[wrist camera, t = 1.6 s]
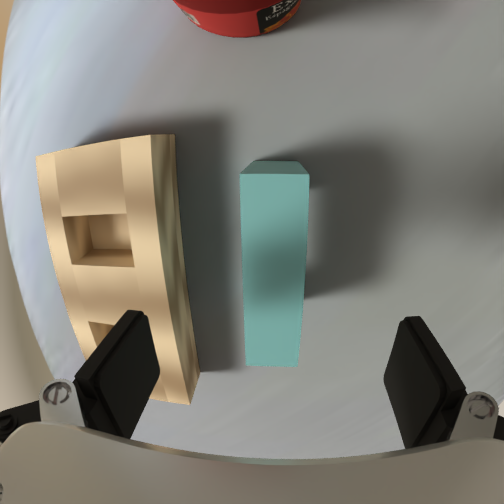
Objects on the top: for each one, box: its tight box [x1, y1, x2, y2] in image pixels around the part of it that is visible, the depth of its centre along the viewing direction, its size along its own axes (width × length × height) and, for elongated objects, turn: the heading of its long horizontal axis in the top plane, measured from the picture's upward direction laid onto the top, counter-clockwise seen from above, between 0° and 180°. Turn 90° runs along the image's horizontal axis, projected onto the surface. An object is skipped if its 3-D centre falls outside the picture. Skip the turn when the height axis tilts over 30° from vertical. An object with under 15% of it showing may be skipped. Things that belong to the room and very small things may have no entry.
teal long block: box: [240, 161, 309, 367], centre depth 17 cm, size 10×3×7 cm, turn 1°
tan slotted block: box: [36, 134, 200, 405], centre depth 20 cm, size 20×9×4 cm, turn 1°
